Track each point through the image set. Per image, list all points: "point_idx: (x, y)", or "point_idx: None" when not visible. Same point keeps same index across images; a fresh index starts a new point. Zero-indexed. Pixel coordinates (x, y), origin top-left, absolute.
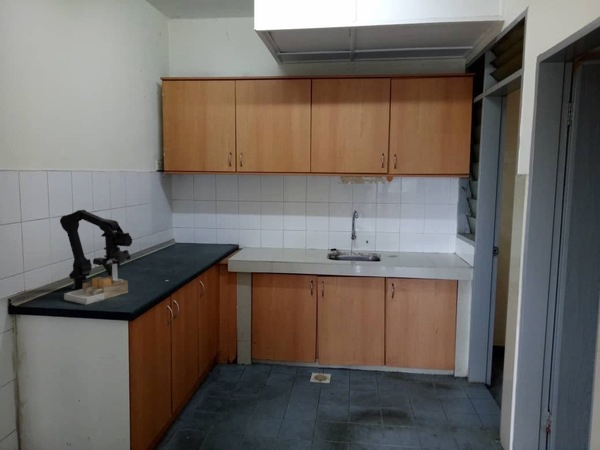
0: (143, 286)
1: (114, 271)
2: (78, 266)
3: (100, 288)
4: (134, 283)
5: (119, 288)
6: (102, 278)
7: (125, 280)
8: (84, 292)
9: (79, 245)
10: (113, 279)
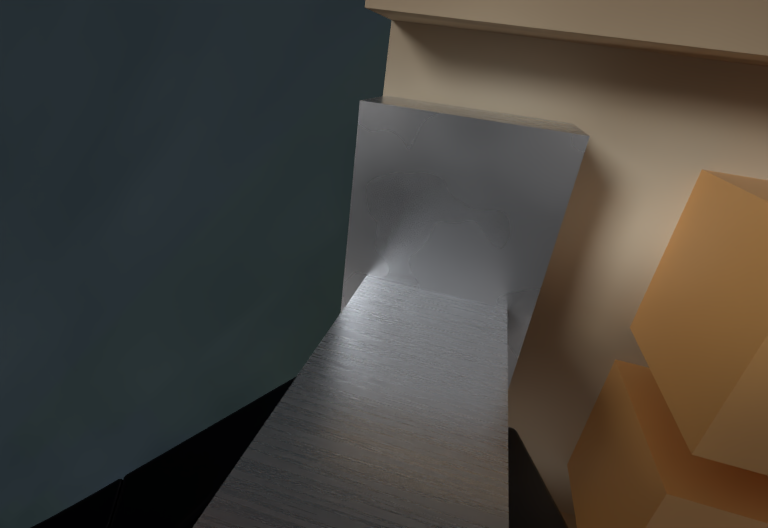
0: (92, 22)
1: (401, 456)
2: None
3: None
4: (91, 240)
5: None
6: (733, 511)
7: (369, 4)
8: None
9: None
10: (483, 309)
